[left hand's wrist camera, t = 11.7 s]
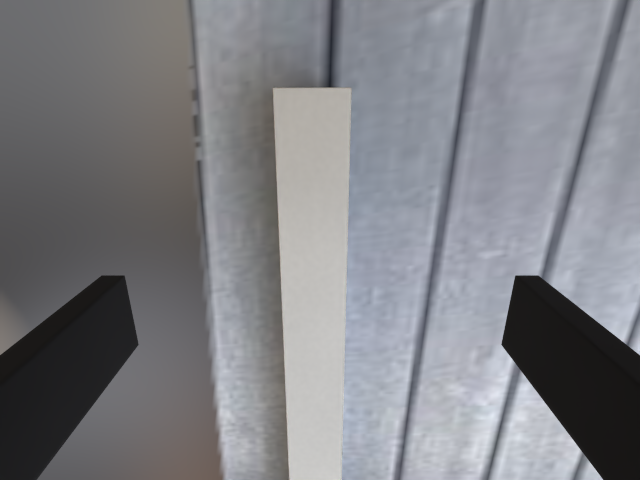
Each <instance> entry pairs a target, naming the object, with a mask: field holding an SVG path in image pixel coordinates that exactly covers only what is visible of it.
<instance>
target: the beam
mask: <svg viewBox="0 0 640 480" xmlns="http://www.w3.org/2000/svg"><path fill="white" fill-rule="evenodd" d="M273 109H274V133H275V156H276V180H277V204H278V228H279V252H280V275H281V299H282V323H283V347H284V370H285V394H286V418H287V442H288V465H289V480H342V441H343V402H344V363H345V324H346V285H347V246H348V207H349V167H350V128H351V88H273Z"/></svg>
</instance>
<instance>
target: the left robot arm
mask: <svg viewBox="0 0 640 480" xmlns="http://www.w3.org/2000/svg"><path fill="white" fill-rule="evenodd" d="M137 346H138V340H137V335H136V330H135V325H134V320H133V315H132V310H131V305H130V300H129V295H128V290H127V285H126V280H125V276H101V277H99V278H98V279H97V280H96V281H94V282H93V283H92V284H91V285H89V286H88V287H87V288H85V289H84V290H83V291H82V292H80V293H79V294H78V295H77V296H75V297H74V298H73V299H71V300H70V301H69V302H68V303H66V304H65V305H64V306H62V307H61V308H60V309H59V310H57V311H56V312H55V313H54V314H52V315H51V316H50V317H48V318H47V319H46V320H45V321H43V322H42V323H41V324H40V325H38V326H37V327H36V328H34V329H33V330H32V331H31V332H29V333H28V334H27V335H26V336H24V337H23V338H22V339H20V340H19V341H18V342H17V343H15V344H14V345H13V346H12V347H10V348H9V349H8V350H6V351H5V352H4V353H3V354H1V355H0V480H37V478H38V477H39V476H40V474H41V473H42V472H43V470H44V469H45V468H46V467H47V465H48V464H49V463H50V461H51V460H52V459H53V457H54V456H55V454H56V453H57V452H58V451H59V449H60V448H61V447H62V445H63V444H64V443H65V441H66V440H67V439H68V437H69V436H70V435H71V433H72V432H73V431H74V429H75V428H76V427H77V425H78V424H79V423H80V421H81V420H82V419H83V418H84V416H85V415H86V413H87V412H88V411H89V410H90V408H91V407H92V406H93V404H94V403H95V402H96V400H97V399H98V398H99V396H100V395H101V394H102V392H103V391H104V390H105V388H106V387H107V386H108V384H109V383H110V382H111V380H112V379H113V378H114V376H115V375H116V374H117V372H118V371H119V370H120V368H121V367H122V366H123V365H124V363H125V362H126V361H127V359H128V358H129V357H130V355H131V354H132V353H133V351H134V350H135V349H136V347H137ZM502 346H503V347H504V349H505V350H506V351H507V353H508V354H509V355H510V357H511V358H512V359H513V361H514V362H515V363H516V365H517V366H518V367H519V368H520V370H521V371H522V372H523V374H524V375H525V376H526V378H527V379H528V380H529V382H530V383H531V384H532V386H533V387H534V388H535V390H536V391H537V392H538V394H539V395H540V396H541V398H542V399H543V400H544V402H545V403H546V404H547V406H548V407H549V408H550V410H551V411H552V412H553V414H554V415H555V416H556V418H557V419H558V420H559V421H560V423H561V424H562V425H563V427H564V428H565V429H566V431H567V432H568V433H569V435H570V436H571V437H572V439H573V440H574V441H575V443H576V444H577V445H578V447H579V448H580V449H581V451H582V452H583V453H584V455H585V456H586V457H587V459H588V460H589V461H590V463H591V464H592V465H593V467H594V468H595V469H596V470H597V472H598V473H599V474H600V476H601V477H602V478H603V480H640V355H639V354H637V353H636V352H635V351H634V350H632V349H631V348H630V347H628V346H627V345H626V344H625V343H623V342H622V341H621V340H620V339H618V338H617V337H616V336H614V335H613V334H612V333H611V332H609V331H608V330H607V329H606V328H604V327H603V326H602V325H600V324H599V323H598V322H597V321H595V320H594V319H593V318H592V317H590V316H589V315H588V314H586V313H585V312H584V311H583V310H581V309H580V308H579V307H578V306H576V305H575V304H574V303H572V302H571V301H570V300H569V299H567V298H566V297H565V296H564V295H562V294H561V293H560V292H558V291H557V290H556V289H555V288H553V287H552V286H551V285H550V284H548V283H547V282H546V281H544V280H543V279H542V278H541V277H539V276H515V280H514V285H513V290H512V295H511V300H510V305H509V310H508V315H507V320H506V325H505V330H504V335H503V340H502Z"/></svg>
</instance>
